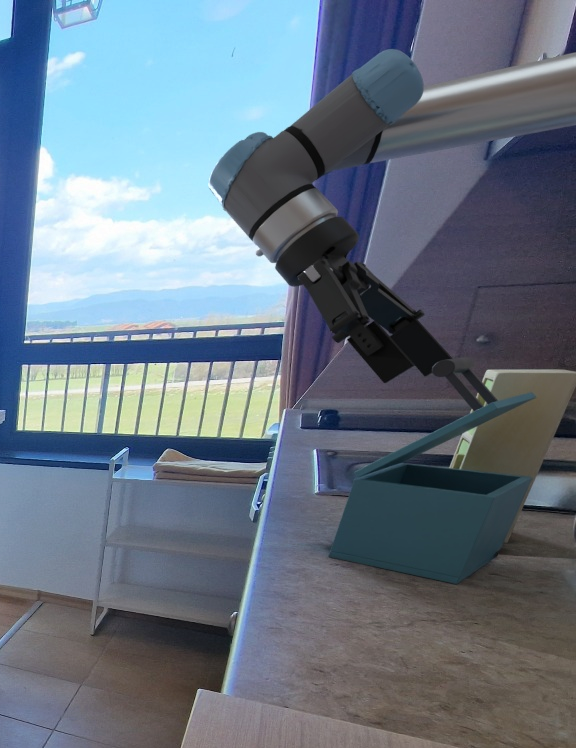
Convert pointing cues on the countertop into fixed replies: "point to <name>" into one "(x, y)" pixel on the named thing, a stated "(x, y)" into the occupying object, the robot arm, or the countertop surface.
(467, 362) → the lid
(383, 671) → the countertop surface
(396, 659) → the countertop surface
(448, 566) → the teal storage box
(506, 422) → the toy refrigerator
